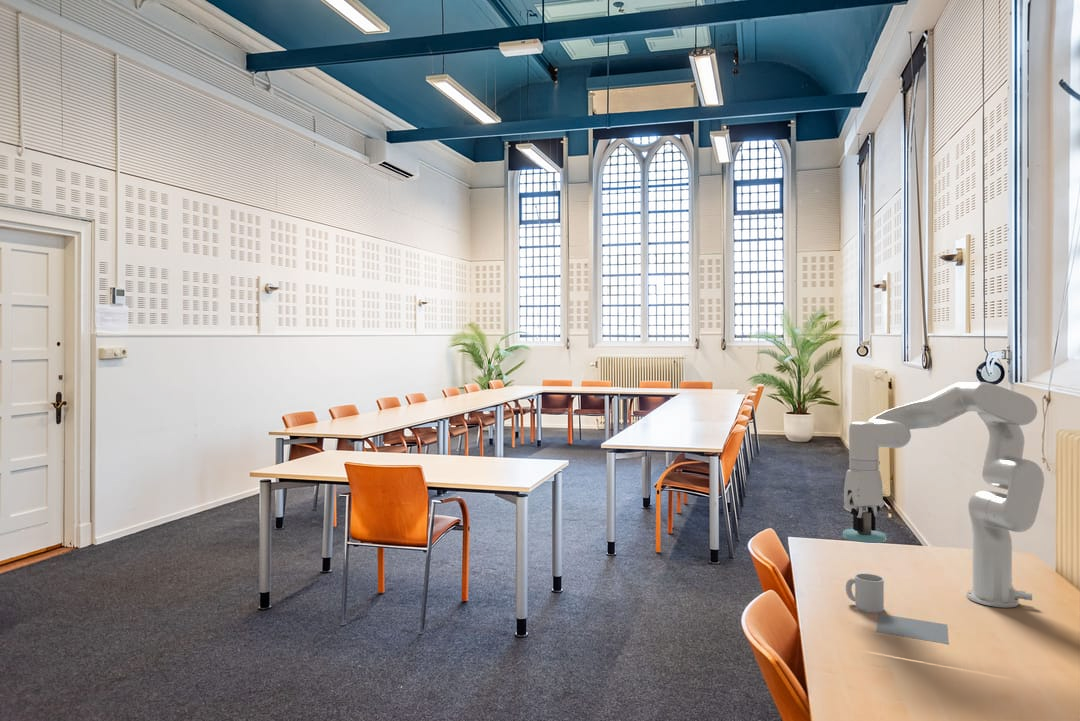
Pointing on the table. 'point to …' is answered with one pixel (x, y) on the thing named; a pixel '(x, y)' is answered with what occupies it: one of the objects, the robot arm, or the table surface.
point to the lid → (865, 532)
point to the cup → (867, 592)
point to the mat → (913, 628)
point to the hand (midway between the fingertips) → (864, 529)
